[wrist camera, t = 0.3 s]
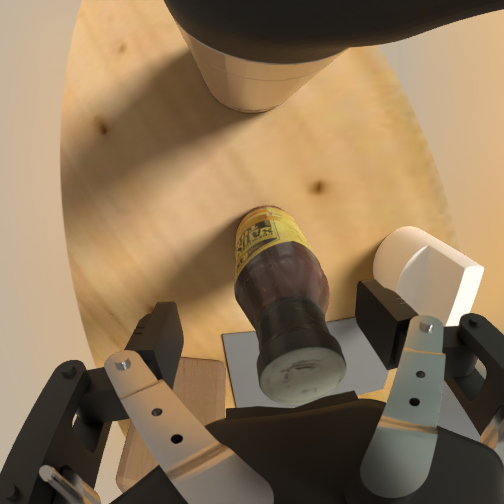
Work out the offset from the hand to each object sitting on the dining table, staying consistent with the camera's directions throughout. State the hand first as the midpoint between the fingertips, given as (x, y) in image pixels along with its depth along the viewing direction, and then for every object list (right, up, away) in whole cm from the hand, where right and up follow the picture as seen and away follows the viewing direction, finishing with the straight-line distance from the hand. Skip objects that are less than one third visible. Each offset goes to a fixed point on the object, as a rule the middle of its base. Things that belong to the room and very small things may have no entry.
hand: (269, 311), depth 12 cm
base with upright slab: (+18, +2, +20) cm, 27 cm away
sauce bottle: (+1, +4, +18) cm, 19 cm away
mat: (+8, -14, +25) cm, 30 cm away
